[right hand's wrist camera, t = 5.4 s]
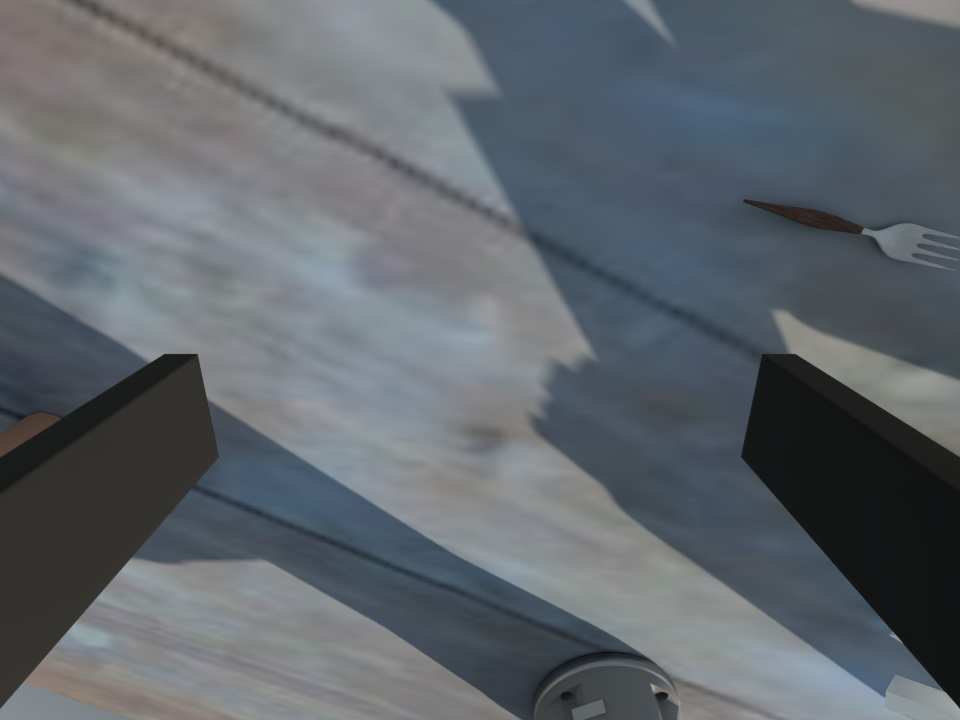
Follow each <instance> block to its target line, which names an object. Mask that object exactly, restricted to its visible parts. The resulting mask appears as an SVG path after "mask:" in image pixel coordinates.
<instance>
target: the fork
mask: <svg viewBox="0 0 960 720" xmlns="http://www.w3.org/2000/svg"><path fill="white" fill-rule="evenodd" d="M743 202H745V203H747V204H750V205H753V206H756V207H759V208H762V209H765V210H767V211H770V212H773V213H776V214H778V215H781V216H784V217H786V218H789V219H791V220H794V221H796V222H799V223H802V224H805V225H808V226H811V227H815V228H820V229H826V230H833V231H841V232H848V233H856V234H863V235H868V236H871V237H873V238H874V239H875V240H876V241H877V243H878V244H879V246H880V248H881V249H882V251H883V252H884V253H885V254H886V255H887V256H889V257H891V258H893V259H896V260H901V261H907V262H912V263H917V264H922V265H927V266H932V267H937V268H942V269H947V270H952V271H956V270H955V269H951V268H947V267H944V266H941V265H938V264H934V263H931V262H928V261H924V260H921V259H918V258H915V257H913V256H912V254H913V253H918V254H924V255H929V256H934V257H940V258H945V259H951V260H956V261H960V260H958V259H955V258H951V257H948V256H945V255H941V254H938V253H935V252H931V251H928V250H924V249H921V248H919V247H917V244H927V245H932V246H938V247H943V248H949V249H954V250H960V249H959V248H956V247H953V246H949V245H946V244H942V243H939V242H935V241H932V240H928V239H926V238H923V237H922V235H923V234H930V235H936V236H942V237H947V238H953V239H959V240H960V237H958V236H954V235H951V234H947V233H943V232H940V231H936V230H933V229H929V228H926V227H923V226H919V225H916V224H911V223H902V224H897V225H894V226H891V227H888V228H886V229H883V230H879V231H873V230H869V229H866V228H864V227H861V226H859V225H856V224H854V223H851V222H849V221H847V220H844V219H842V218H839V217H837V216H834V215H831V214H828V213H825V212H821V211H817V210H811V209H804V208H797V207H789V206H782V205H775V204H769V203H763V202H757V201H752V200H745V199H744V201H743Z"/></svg>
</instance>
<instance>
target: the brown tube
mask: <svg viewBox="0 0 960 720" xmlns="http://www.w3.org/2000/svg"><path fill="white" fill-rule="evenodd" d="M60 419H62V418H60V417H58V416H55V415H53V414H49V413H34V414H31V415H29V416H27V417H25V418H23V419H22V420H20V421H18V422H17V423H15V424H13V425H11V426H10V427H8V428H6V429H4V430H3V431H1V432H0V457H1V456H3V455H5V454H6V453H8V452H9V451H11V450H13V449H14V448H16V447H17V446H19V445H21V444H22V443H24V442H25V441H27V440H29V439H30V438H32V437H33V436H35V435H37V434H38V433H40V432H41V431H43V430H44V429H46V428H48V427H49V426H51V425H52V424H54V423H56V422H57V421H59V420H60Z"/></svg>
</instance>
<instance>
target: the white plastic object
mask: <svg viewBox="0 0 960 720" xmlns="http://www.w3.org/2000/svg"><path fill="white" fill-rule="evenodd" d="M889 635H890V636H892V637H893V638H895V639H897V640H898V641H900V642H901V640H900V639H899V638H898V637H897V636H896V635H895V634H894V632H893V631H891V633H890V634H889ZM901 643H902V642H901ZM885 708H888V709H890V710H893V711H895V712H898V713H901V714H903V715H906V716H908V717H911V718H913V719H916V720H960V708H959V707H958V706H957V705H956V704H955V703H954V701H953V700H952V699H951V698H950V697H949V696H948V695H947V693H946V692H943V691H941V690H938V689H935V688H932V687H929V686H927V685H924V684H921V683H918V682H915V681H912V680H910V679H907V678H904V677H901V676H898V675H895V676H894V678H893V680H892V681H891V683H890V685H889V686H888V688H887V690H886V697H885Z"/></svg>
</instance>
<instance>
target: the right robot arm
mask: <svg viewBox="0 0 960 720" xmlns="http://www.w3.org/2000/svg"><path fill="white" fill-rule="evenodd" d="M218 457H219V455H218V450H217V445H216V440H215V436H214V431H213V426H212V421H211V416H210V412H209V407H208V402H207V397H206V392H205V388H204V383H203V378H202V373H201V368H200V364H199V359H198V354H164V355H162V356H161V357H159V358H158V359H156V360H154V361H153V362H151V363H150V364H148V365H146V366H145V367H143V368H142V369H140V370H138V371H137V372H135V373H134V374H132V375H130V376H129V377H127V378H126V379H124V380H123V381H121V382H119V383H118V384H116V385H115V386H113V387H111V388H110V389H108V390H107V391H105V392H103V393H102V394H100V395H99V396H97V397H95V398H94V399H92V400H91V401H89V402H87V403H86V404H84V405H83V406H81V407H80V408H78V409H76V410H75V411H73V412H72V413H70V414H68V415H67V416H65V417H64V418H62V419H60V420H59V421H57V422H56V423H54V424H52V425H51V426H49V427H48V428H46V429H44V430H43V431H41V432H40V433H38V434H37V435H35V436H33V437H32V438H30V439H29V440H27V441H25V442H24V443H22V444H21V445H19V446H17V447H16V448H14V449H13V450H11V451H9V452H8V453H6V454H5V455H3V456H1V457H0V708H1V707H2V706H3V705H4V704H5V702H6V701H7V700H8V699H9V698H10V697H11V696H12V695H13V693H14V692H15V691H16V690H17V689H18V688H19V686H20V685H21V684H22V683H23V682H24V681H25V680H26V678H27V677H28V676H29V675H30V674H31V673H32V672H33V670H34V669H35V668H36V667H37V666H38V665H39V663H40V662H41V661H42V660H43V659H44V658H45V657H46V655H47V654H48V653H49V652H50V651H51V650H52V648H53V647H54V646H55V645H56V644H57V643H58V642H59V640H60V639H61V638H62V637H63V636H64V635H65V634H66V632H67V631H68V630H69V629H70V628H71V627H72V625H73V624H74V623H75V622H76V621H77V620H78V619H79V617H80V616H81V615H82V614H83V613H84V612H85V610H86V609H87V608H88V607H89V606H90V605H91V604H92V602H93V601H94V600H95V599H96V598H97V597H98V595H99V594H100V593H101V592H102V591H103V590H104V589H105V587H106V586H107V585H108V584H109V583H110V582H111V581H112V579H113V578H114V577H115V576H116V575H117V574H118V572H119V571H120V570H121V569H122V568H123V567H124V566H125V564H126V563H127V562H128V561H129V560H130V559H131V557H132V556H133V555H134V554H135V553H136V552H137V551H138V549H139V548H140V547H141V546H142V545H143V544H144V543H145V541H146V540H147V539H148V538H149V537H150V536H151V534H152V533H153V532H154V531H155V530H156V529H157V528H158V526H159V525H160V524H161V523H162V522H163V521H164V519H165V518H166V517H167V516H168V515H169V514H170V513H171V511H172V510H173V509H174V508H175V507H176V506H177V504H178V503H179V502H180V501H181V500H182V499H183V498H184V496H185V495H186V494H187V493H188V492H189V491H190V490H191V488H192V487H193V486H194V485H195V484H196V483H197V481H198V480H199V479H200V478H201V477H202V476H203V475H204V473H205V472H206V471H207V470H208V469H209V468H210V466H211V465H212V464H213V463H214V462H215V461H216V460H217V458H218ZM741 457H742V458H743V460H744V461H745V462H746V463H747V464H748V465H749V466H750V468H751V469H752V470H753V471H754V472H755V473H756V475H757V476H758V477H759V478H760V479H761V480H762V481H763V483H764V484H765V485H766V486H767V487H768V488H769V490H770V491H771V492H772V493H773V494H774V495H775V496H776V498H777V499H778V500H779V501H780V502H781V503H782V504H783V506H784V507H785V508H786V509H787V510H788V511H789V513H790V514H791V515H792V516H793V517H794V518H795V519H796V521H797V522H798V523H799V524H800V525H801V526H802V528H803V529H804V530H805V531H806V532H807V533H808V534H809V536H810V537H811V538H812V539H813V540H814V541H815V543H816V544H817V545H818V546H819V547H820V548H821V549H822V551H823V552H824V553H825V554H826V555H827V556H828V557H829V559H830V560H831V561H832V562H833V563H834V564H835V566H836V567H837V568H838V569H839V570H840V571H841V572H842V574H843V575H844V576H845V577H846V578H847V579H848V581H849V582H850V583H851V584H852V585H853V586H854V587H855V589H856V590H857V591H858V592H859V593H860V594H861V595H862V597H863V598H864V599H865V600H866V601H867V602H868V604H869V605H870V606H871V607H872V608H873V609H874V610H875V612H876V613H877V614H878V615H879V616H880V617H881V619H882V620H883V621H884V622H885V623H886V624H887V625H888V627H889V628H890V629H891V630H892V631H893V632H894V634H895V635H896V636H897V637H898V638H899V639H900V640H901V642H902V643H903V644H904V645H905V646H906V647H907V648H908V650H909V651H910V652H911V653H912V654H913V655H914V657H915V658H916V659H917V660H918V661H919V662H920V663H921V665H922V666H923V667H924V668H925V669H926V670H927V672H928V673H929V674H930V675H931V676H932V677H933V678H934V680H935V681H936V682H937V683H938V684H939V685H940V686H941V688H942V689H943V690H944V691H945V692H946V693H947V695H948V696H949V697H950V698H951V699H952V700H953V701H954V703H955V704H956V705H957V706H958V707H959V708H960V457H959V456H957V455H955V454H954V453H952V452H951V451H949V450H947V449H946V448H944V447H943V446H941V445H939V444H938V443H936V442H935V441H933V440H931V439H930V438H928V437H927V436H925V435H923V434H922V433H920V432H919V431H917V430H916V429H914V428H912V427H911V426H909V425H908V424H906V423H904V422H903V421H901V420H900V419H898V418H896V417H895V416H893V415H892V414H890V413H888V412H887V411H885V410H884V409H882V408H880V407H879V406H877V405H876V404H874V403H873V402H871V401H869V400H868V399H866V398H865V397H863V396H861V395H860V394H858V393H857V392H855V391H853V390H852V389H850V388H849V387H847V386H845V385H844V384H842V383H841V382H839V381H837V380H836V379H834V378H833V377H831V376H830V375H828V374H826V373H825V372H823V371H822V370H820V369H818V368H817V367H815V366H814V365H812V364H810V363H809V362H807V361H806V360H804V359H802V358H801V357H799V356H798V355H796V354H762V359H761V364H760V368H759V373H758V378H757V383H756V388H755V392H754V397H753V402H752V407H751V412H750V416H749V421H748V426H747V431H746V436H745V440H744V445H743V450H742V455H741ZM533 710H534V720H682V711H681V705H680V701H679V698H678V695H677V692H676V690H675V687H674V685H673V682H672V681H671V679H670V677H669V676H668V675H667V674H666V673H665V672H664V671H663V670H662V669H661V668H660V667H658V666H657V665H655V664H654V663H652V662H650V661H648V660H646V659H643V658H640V657H637V656H633V655H628V654H621V653H600V654H593V655H588V656H584V657H581V658H578V659H575V660H572V661H570V662H568V663H566V664H564V665H562V666H560V667H559V668H557V669H556V670H554V671H553V672H552V673H551V674H550V675H548V676H547V677H546V679H545V680H544V681H543V682H542V683H541V685H540V686H539V688H538V690H537V692H536V695H535V698H534V704H533Z"/></svg>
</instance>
